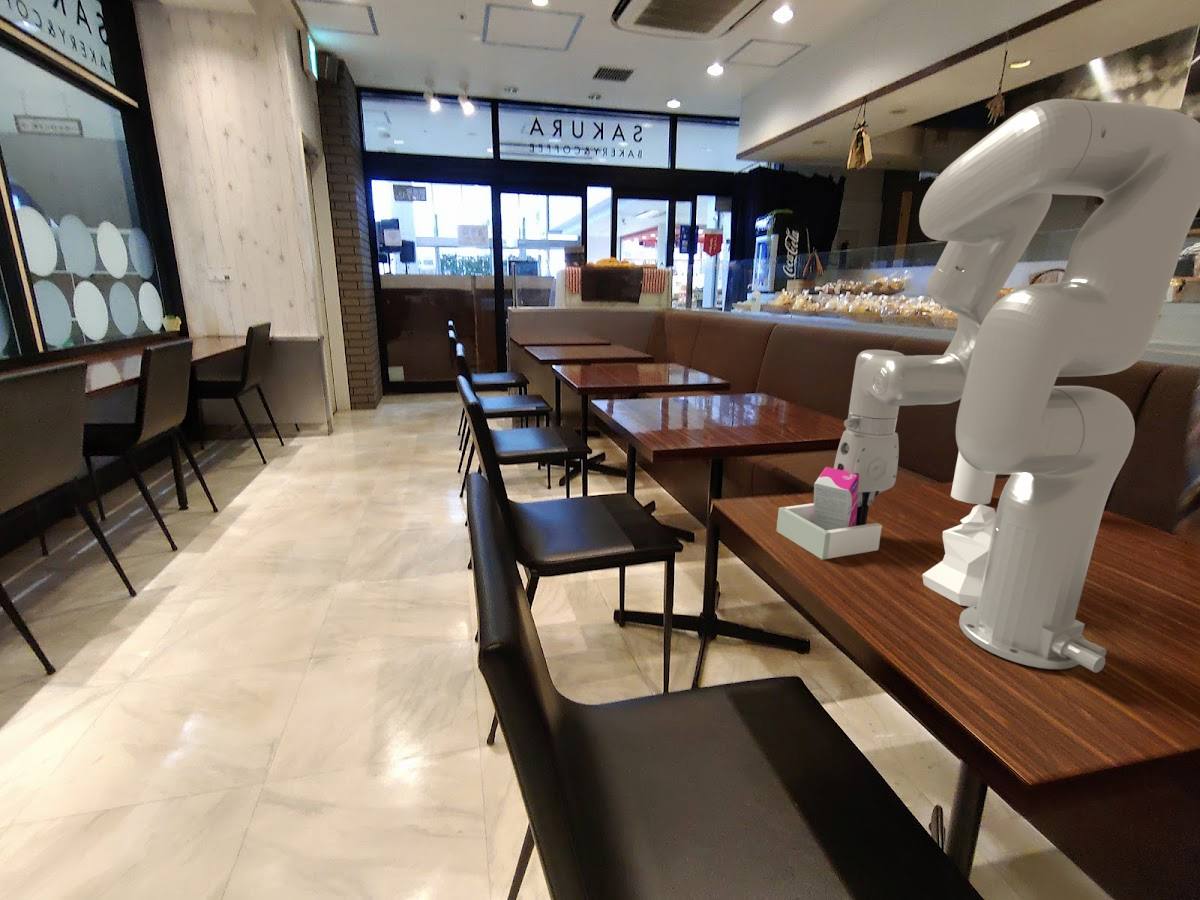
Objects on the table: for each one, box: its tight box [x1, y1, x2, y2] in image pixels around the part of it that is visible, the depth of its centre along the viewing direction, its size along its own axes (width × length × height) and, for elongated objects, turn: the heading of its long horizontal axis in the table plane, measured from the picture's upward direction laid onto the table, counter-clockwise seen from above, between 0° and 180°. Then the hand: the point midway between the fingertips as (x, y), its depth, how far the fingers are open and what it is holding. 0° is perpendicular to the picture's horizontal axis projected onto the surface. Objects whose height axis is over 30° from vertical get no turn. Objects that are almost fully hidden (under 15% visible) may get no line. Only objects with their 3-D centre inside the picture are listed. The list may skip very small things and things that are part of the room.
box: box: [776, 502, 883, 560], centre depth 100 cm, size 12×12×4 cm
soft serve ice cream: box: [922, 504, 997, 607], centre depth 82 cm, size 12×15×14 cm
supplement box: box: [813, 466, 859, 530], centre depth 99 cm, size 6×6×12 cm
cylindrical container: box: [950, 450, 997, 505], centre depth 119 cm, size 7×7×25 cm
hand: (855, 524), depth 103 cm, fingers closed
